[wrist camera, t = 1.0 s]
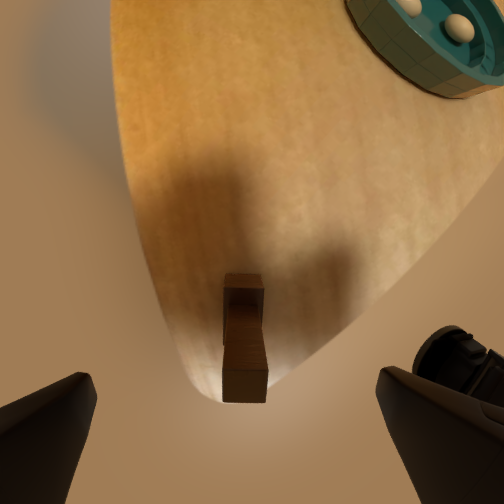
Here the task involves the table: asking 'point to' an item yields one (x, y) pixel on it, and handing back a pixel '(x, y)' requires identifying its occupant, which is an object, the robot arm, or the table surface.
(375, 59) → the table surface
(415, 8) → the dumpling
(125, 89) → the table surface
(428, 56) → the mixing bowl
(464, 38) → the dumpling
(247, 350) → the brown block
